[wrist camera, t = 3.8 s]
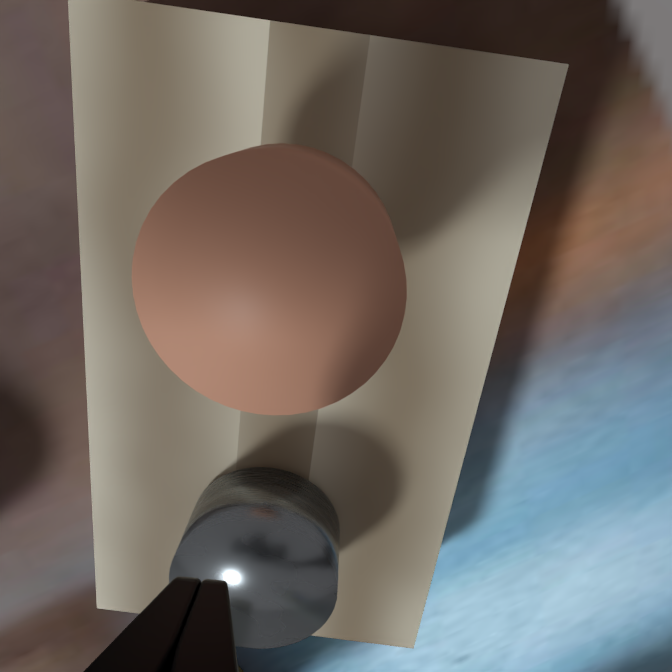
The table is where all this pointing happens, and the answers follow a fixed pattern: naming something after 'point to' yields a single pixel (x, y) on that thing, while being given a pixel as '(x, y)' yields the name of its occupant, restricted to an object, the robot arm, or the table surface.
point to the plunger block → (413, 239)
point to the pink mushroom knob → (270, 279)
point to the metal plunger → (265, 553)
